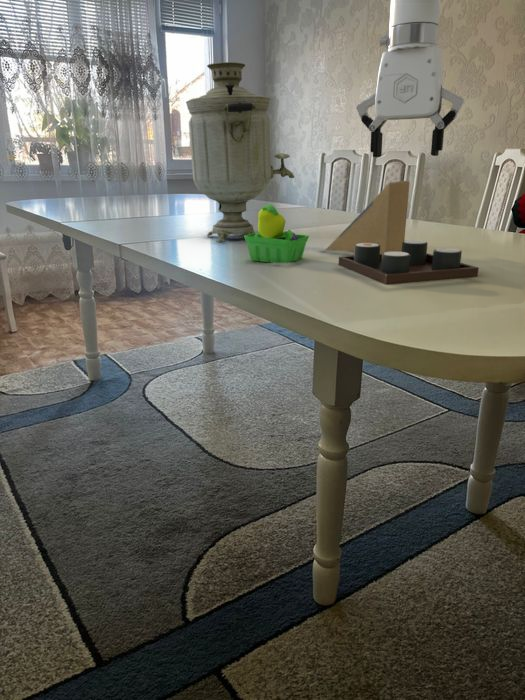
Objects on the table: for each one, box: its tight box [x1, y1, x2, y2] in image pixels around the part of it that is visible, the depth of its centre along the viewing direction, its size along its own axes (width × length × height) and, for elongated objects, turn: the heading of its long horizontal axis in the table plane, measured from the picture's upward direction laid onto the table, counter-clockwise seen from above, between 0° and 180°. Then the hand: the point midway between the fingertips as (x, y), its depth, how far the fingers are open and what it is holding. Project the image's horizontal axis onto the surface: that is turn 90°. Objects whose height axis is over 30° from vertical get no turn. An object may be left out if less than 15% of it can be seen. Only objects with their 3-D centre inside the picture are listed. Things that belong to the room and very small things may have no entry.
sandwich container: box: [325, 180, 410, 254], centre depth 117 cm, size 9×15×15 cm, turn 49°
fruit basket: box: [243, 204, 310, 264], centre depth 107 cm, size 11×9×11 cm
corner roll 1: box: [381, 251, 411, 274], centre depth 91 cm, size 5×5×4 cm
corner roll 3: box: [432, 247, 463, 270], centre depth 93 cm, size 5×5×4 cm
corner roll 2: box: [401, 239, 428, 266], centre depth 102 cm, size 5×5×4 cm
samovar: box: [185, 61, 295, 243], centre depth 133 cm, size 30×26×40 cm
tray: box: [338, 252, 480, 286], centre depth 97 cm, size 18×18×2 cm
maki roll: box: [353, 243, 380, 269], centre depth 100 cm, size 5×5×4 cm
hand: (405, 156), depth 91 cm, fingers open, 9 cm apart
